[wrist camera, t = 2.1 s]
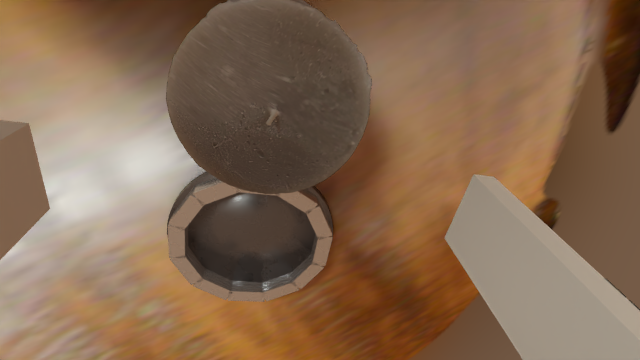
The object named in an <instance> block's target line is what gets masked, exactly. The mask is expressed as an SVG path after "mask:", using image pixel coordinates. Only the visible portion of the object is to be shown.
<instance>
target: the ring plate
mask: <svg viewBox="0 0 640 360" xmlns="http://www.w3.org/2000/svg"><path fill="white" fill-rule="evenodd" d="M167 235H168V242H169V258H171V259H170V260H171V261H172V263H173V264H174V265H175V266H176V267H177V269H178V270H179V271H180V272H181V273H182V275H183V276H184V277H185V278H186V279H187V280H188V282H189V283H190V284H191V285H192V284H194V285H193V286H194V287H196V288H199V289H201V290H203V291H206V292H208V293H210V294H213V295H215V296H217V297H220V298H222V299H224V300H226V299H227V298H228V301H260V302H264V300H266V301H269V300H272V299H275V298H278V297H281V296H284V295H287V294H290V293H293V292H296V291H298V290H299V288H300V289H302V288H303V287H304V286H305V285H306V284H307V283H308V282H309V281H310V280H312V279H313V278H314V277H315V276H316V275H317V274H318V273H319V272H320V271H321V270H322V269H323V268H324V266H326V262H327V258H328V254H329V250H330V246H331V243H332V238H333V224H332V218H331V214H330V211H329V208H328V205H327V203H326V201H325V199H324V197H323V196H322V194H321V193H320V192H319V190H318V189H317V188H316V187H315V186H312V187H309V188H306V189H304V190H300V191H296V192H292V193H279V194H263V193H257V192H250V191H244V190H242V189H238V188H236V187H233V186H230V185H228V184H226V183H223V182H222V181H220V180H219V179H217V178H216V177H214V176H213V175H211V174H210V173H208V172H204V173H203V174H201V175H200V176H198V177H196V178H195V179H194V180H192V181H191V182H190V183H189V184H188V185H187V186H186V187H185V188H184V189H183V190H182V191H181V193H180V194H179V196H178V197H177V199H176V200H175V203H174V205H173V207H172V210H171V212H170V215H169V219H168V224H167Z"/></svg>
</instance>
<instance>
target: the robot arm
mask: <svg viewBox="0 0 640 360" xmlns="http://www.w3.org/2000/svg"><path fill="white" fill-rule="evenodd" d="M49 209H50V207H49V203H48V199H47V195H46V191H45V187H44V183H43V179H42V175H41V171H40V167H39V163H38V158H37V154H36V150H35V146H34V142H33V138H32V134H31V130H30V126H29V123H21V122H12V121H4V120H0V260H1V259H2V257H3V256H4V255H5V254H6V253H7V252H8V251H9V250H10V249H11V248H12V247H13V246H14V245H15V244H16V243H17V242H18V241H19V240H20V239H21V238H22V237H23V236H24V235H25V234H26V233H27V232H28V231H29V230H30V229H31V228H32V227H33V226H34V224H35V223H36V222H37V221H38V220H39V219H40V218H41V217H42V216H43V215H44V214H45V213H46V212H47V211H48V210H49ZM445 240H446V241H447V243H448V244H449V246H450V248H451V249H452V251H453V252H454V254H455V255H456V257H457V258H458V260H459V262H460V263H461V265H462V266H463V268H464V269H465V271H466V272H467V274H468V275H469V277H470V279H471V280H472V282H473V283H474V285H475V286H476V288H477V289H478V291H479V292H480V294H481V295H482V297H483V299H484V300H485V302H486V303H487V305H488V306H489V308H490V310H491V311H492V313H493V314H494V316H495V317H496V319H497V320H498V322H499V323H500V325H501V327H502V328H503V330H504V331H505V333H506V334H507V336H508V337H509V339H510V341H511V342H512V344H513V345H514V347H515V348H516V350H517V351H518V353H519V354H520V356H521V358H522V359H523V360H640V309H639V308H638V307H637V306H636V305H635V304H633V303H632V302H631V301H630V300H627V299H626V296H625V295H624V294H623V293H621V292H620V291H619V290H618V289H617V288H616V287H615V286H614V285H613V284H612V283H611V282H609V281H608V280H607V279H605V278H604V277H603V276H601V275H600V274H599V273H598V272H597V271H596V270H595V269H594V268H593V267H592V266H591V265H589V264H588V263H587V262H586V261H585V260H584V259H583V258H582V257H581V256H579V254H577V253H576V252H575V251H574V250H573V249H572V248H571V247H570V246H569V245H568V244H567V243H565V242H564V241H563V240H562V239H561V238H560V237H559V236H558V235H557V234H556V233H554V232H553V231H552V230H551V229H550V228H549V227H548V226H547V225H546V224H545V223H544V222H543V221H542V220H540V219H539V218H538V217H537V216H536V215H535V214H534V213H533V212H532V211H531V210H530V209H528V208H527V207H526V206H525V205H524V204H523V203H522V202H521V201H520V200H519V199H518V198H516V197H515V196H514V195H513V194H512V193H511V192H510V191H509V190H508V189H507V188H506V187H504V186H503V185H502V184H501V183H500V182H499V181H498V180H497V179H496V178H495V177H492V176H483V175H475V174H474V175H473V177H472V179H471V181H470V183H469V185H468V188H467V190H466V192H465V194H464V196H463V199H462V201H461V203H460V205H459V207H458V209H457V212H456V214H455V216H454V218H453V220H452V223H451V225H450V227H449V229H448V231H447V233H446V236H445Z"/></svg>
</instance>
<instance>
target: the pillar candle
mask: <svg viewBox="0 0 640 360" xmlns="http://www.w3.org/2000/svg"><path fill="white" fill-rule="evenodd" d="M367 70H368V69H367V63H366V61H365V58H364V56H363V55H362V53H360V52H359V51H358V50H357V45H356V44H354V43H353V42H352V41H351V39H350V38H349V37H348V36H347V35H346V34H345V32H344V31H343V30H342V29H341V28H340V25H339V24H337V22H336V21H335V20H334V21H331V20H330V19H329V18H327V17H326V16H324V14H323V13H322V12H320V11H319V10H317V9H316V8H313V7H312V6H311V5H309V4H308V3H306V2H305V1H303V0H228V1H227V2H225V3H219V4H218V5H217V6H215V7H213V8H212V9H211V10H210V11H209V12H208V13H207V16H206V17H205V18H203V19H201V20H200V22H199V23H198V24H197V25H196V26H195V27H194V28H193V29H192V30H191V31H190V32H189V33H188V34H187V36H186V38H185V39H184V41H183V42H182V44H181V45H180V47H179V49H178V50H177V52H176V53H175V55H174V57H173V60H172V64H171V67H170V71H169V76H168V82H167V92H166V100H167V106H168V111H169V116H170V119H171V123H172V125H173V128H174V130H175V132H176V134H177V136H178V138H179V140H180V141H181V143H182V145H183V146H184V148H185V149H186V151H187V152H188V154H189V155H190V156H191V157H192V158H193V159H194V161H195V162H196V163H197V164H198V166H200V167H202V168H203V169H204V170H206V171H207V172H208V173H210V174H211V175H213V176H214V177H216V178H217V179H219V180H220V181H222V182H223V183H226V184H228V185H230V186H233V187H236V188H238V189H242V190H244V191H250V192H257V193H263V194H279V193H292V192H296V191H300V190H304V189H306V188H309V187H312V186H314V185H316V184H318V183H320V182H322V181H324V180H326V179H327V178H328V177H330V176H331V175H332V174H334V173H335V172H336V171H337V170H339V169H340V168H341V167H342V166H343V165H344V164H345V163H346V162H347V161H348V160H349V158H350V157H351V156H352V154H353V153H354V151H355V149H356V147H357V146H358V144H359V142H360V140H361V138H362V136H363V133H364V131H365V128H366V125H367V122H368V117H369V111H370V90H371V86H372V79H371V77H370V75H369V74H368V72H367Z"/></svg>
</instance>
